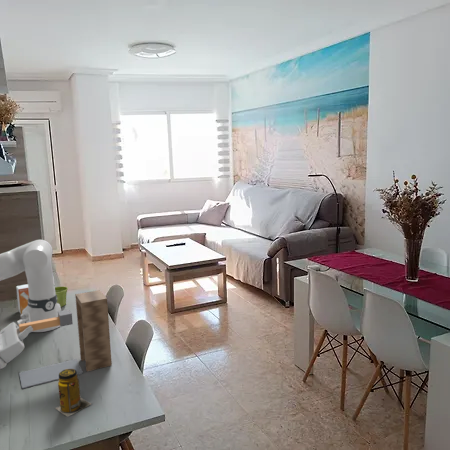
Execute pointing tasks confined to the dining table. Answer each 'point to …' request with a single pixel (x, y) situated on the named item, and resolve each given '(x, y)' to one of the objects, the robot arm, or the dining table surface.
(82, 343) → the walnut shelf
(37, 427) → the dining table surface
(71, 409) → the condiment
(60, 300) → the plant pot
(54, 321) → the hammer with orange handle
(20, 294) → the small box
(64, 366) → the grey mat
